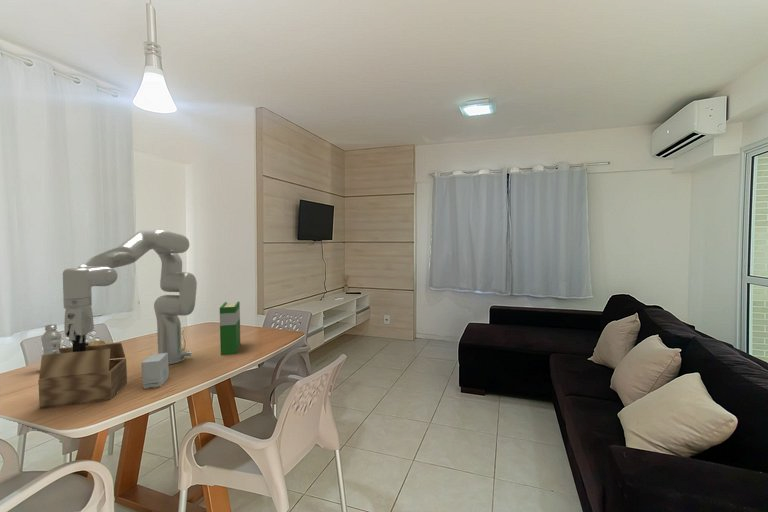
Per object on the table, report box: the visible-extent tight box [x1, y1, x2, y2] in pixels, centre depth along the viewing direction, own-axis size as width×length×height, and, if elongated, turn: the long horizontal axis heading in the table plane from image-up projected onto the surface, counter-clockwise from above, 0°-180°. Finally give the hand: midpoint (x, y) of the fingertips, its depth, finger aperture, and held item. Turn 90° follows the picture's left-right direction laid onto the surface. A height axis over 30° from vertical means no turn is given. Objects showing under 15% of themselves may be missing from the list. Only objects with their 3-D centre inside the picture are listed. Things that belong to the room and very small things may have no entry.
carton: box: [38, 357, 128, 410], centre depth 127 cm, size 20×16×10 cm
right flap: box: [59, 342, 126, 360], centre depth 133 cm, size 19×8×1 cm
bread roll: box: [87, 340, 107, 345], centre depth 171 cm, size 10×15×8 cm, turn 29°
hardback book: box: [219, 301, 241, 356], centre depth 181 cm, size 18×7×24 cm, turn 17°
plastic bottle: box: [40, 324, 62, 355], centre depth 153 cm, size 6×7×20 cm
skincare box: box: [141, 353, 170, 389], centre depth 138 cm, size 10×6×10 cm, turn 16°
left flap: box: [38, 349, 111, 380], centre depth 120 cm, size 19×8×1 cm
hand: (79, 353), depth 123 cm, fingers closed
